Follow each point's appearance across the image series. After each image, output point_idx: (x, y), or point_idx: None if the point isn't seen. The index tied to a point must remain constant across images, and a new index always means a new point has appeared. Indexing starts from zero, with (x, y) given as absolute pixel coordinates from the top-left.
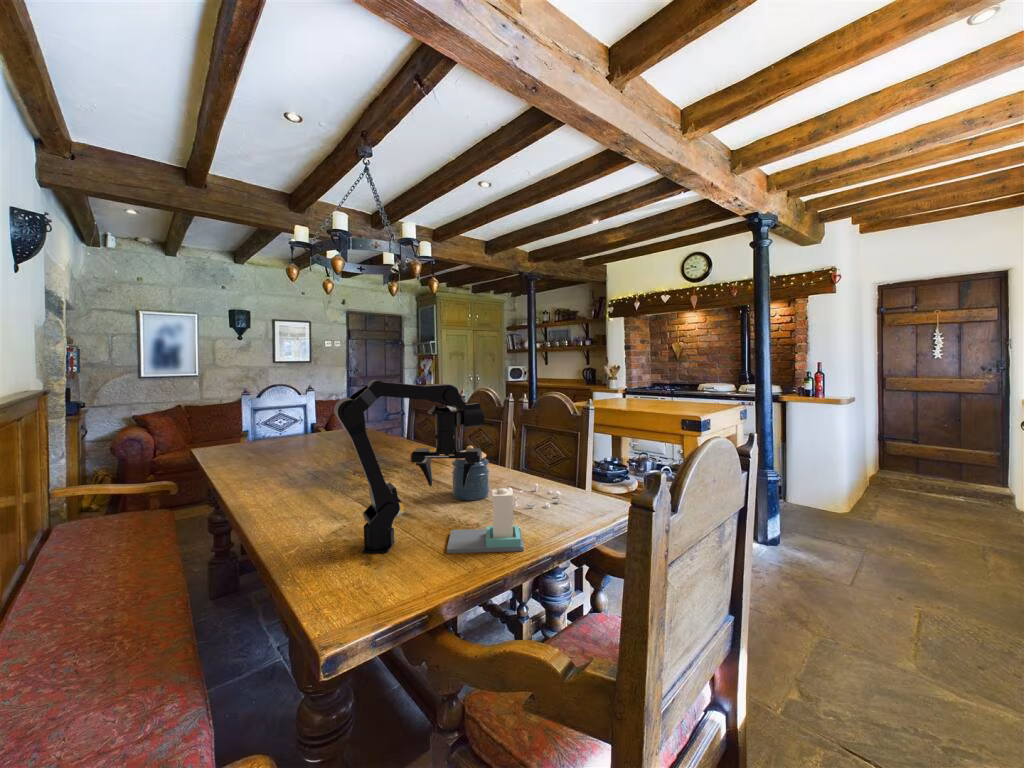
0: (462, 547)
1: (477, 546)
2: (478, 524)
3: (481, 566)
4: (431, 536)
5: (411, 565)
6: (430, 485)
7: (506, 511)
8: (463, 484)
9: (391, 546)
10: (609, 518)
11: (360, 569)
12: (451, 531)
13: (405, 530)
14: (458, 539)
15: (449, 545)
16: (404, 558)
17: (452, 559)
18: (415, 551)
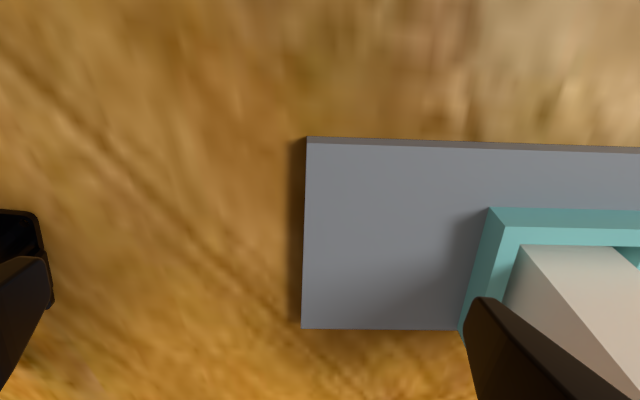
0: (364, 319)
1: (425, 316)
2: (475, 12)
3: (418, 392)
4: (204, 160)
5: (188, 376)
6: (37, 312)
7: None
8: (474, 361)
9: (52, 286)
10: None
11: (22, 386)
12: (309, 163)
13: (19, 60)
14: (348, 254)
15: (309, 301)
16: (146, 337)
17: (324, 353)
18: (170, 294)
